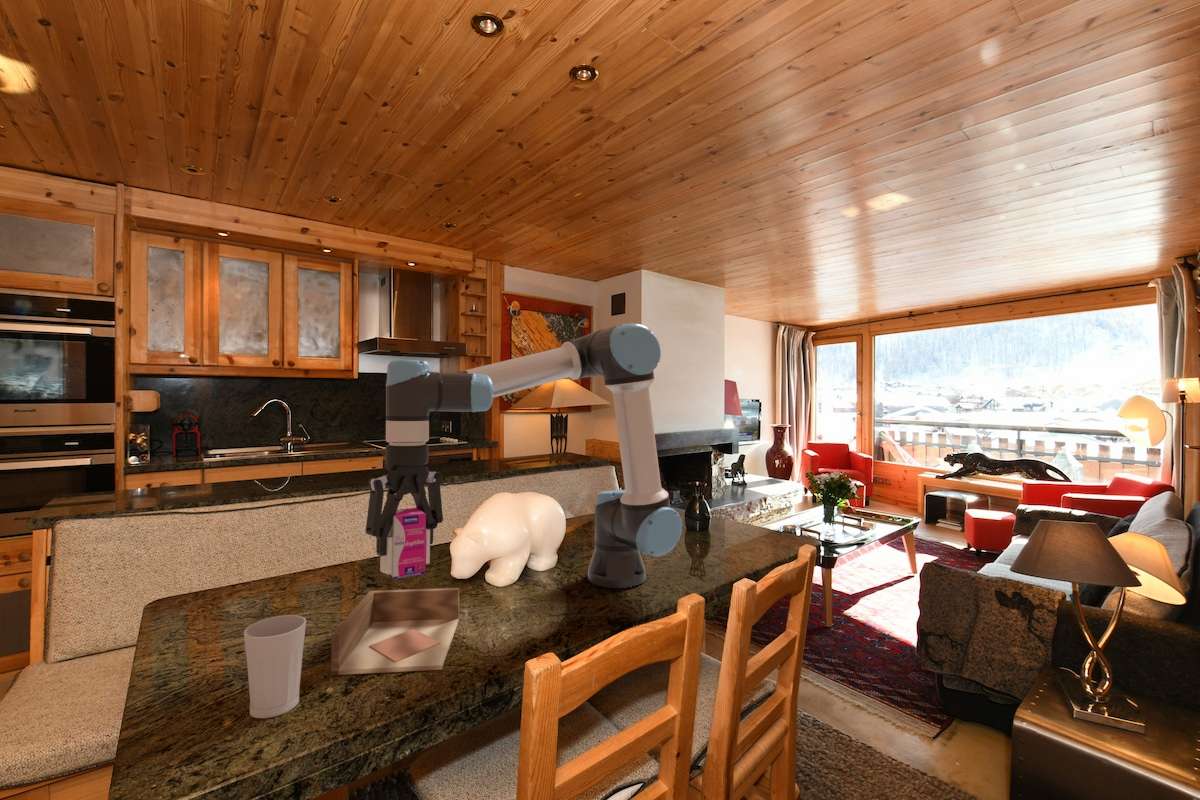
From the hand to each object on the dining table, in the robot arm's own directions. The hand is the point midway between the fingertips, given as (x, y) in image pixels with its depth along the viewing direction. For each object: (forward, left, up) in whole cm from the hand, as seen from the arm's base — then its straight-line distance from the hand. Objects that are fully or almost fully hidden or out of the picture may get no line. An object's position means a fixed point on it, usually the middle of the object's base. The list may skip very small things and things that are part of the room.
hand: (405, 567), depth 95 cm
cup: (+15, +16, -15) cm, 27 cm away
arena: (+1, -2, -15) cm, 15 cm away
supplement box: (0, 0, -1) cm, 1 cm away
